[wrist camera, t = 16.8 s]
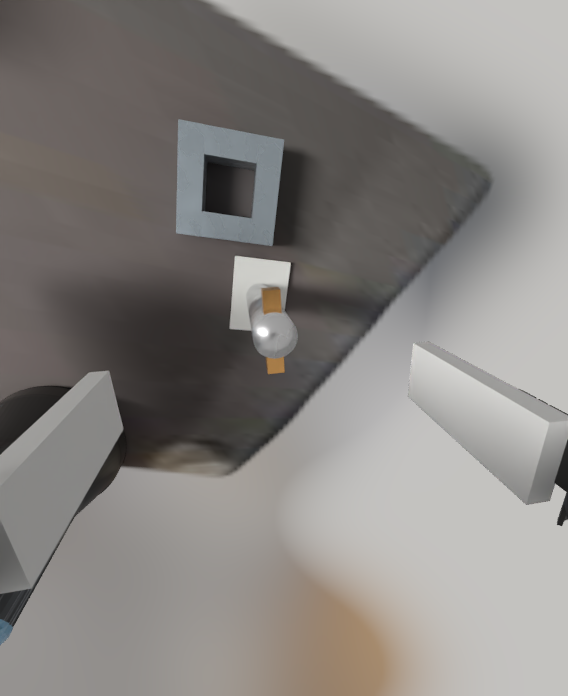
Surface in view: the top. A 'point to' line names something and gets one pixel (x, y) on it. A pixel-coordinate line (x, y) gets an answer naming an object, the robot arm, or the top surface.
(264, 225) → the block
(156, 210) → the top surface
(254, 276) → the mat
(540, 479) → the robot arm
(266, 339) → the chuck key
